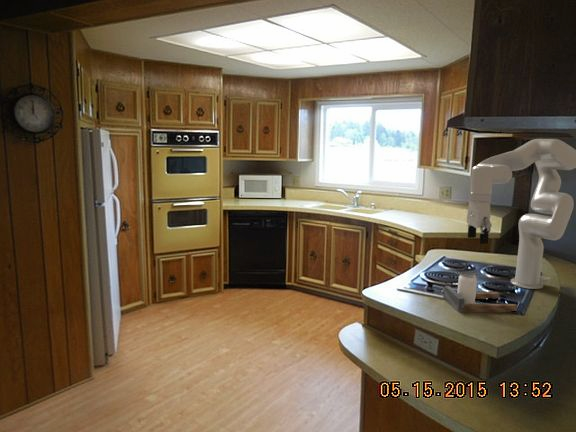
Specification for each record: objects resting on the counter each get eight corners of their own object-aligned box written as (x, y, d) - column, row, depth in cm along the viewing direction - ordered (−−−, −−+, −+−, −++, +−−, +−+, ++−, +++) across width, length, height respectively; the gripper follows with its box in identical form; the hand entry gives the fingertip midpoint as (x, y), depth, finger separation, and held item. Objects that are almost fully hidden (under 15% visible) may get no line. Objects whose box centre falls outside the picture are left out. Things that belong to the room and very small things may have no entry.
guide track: (497, 298, 173) (498, 286, 173) (516, 312, 160) (518, 299, 159) (443, 298, 173) (444, 286, 172) (457, 311, 159) (459, 298, 158)
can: (472, 309, 161) (475, 278, 159) (454, 305, 165) (457, 275, 163) (476, 304, 167) (479, 274, 165) (458, 300, 170) (461, 271, 168)
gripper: (461, 194, 176) (458, 235, 179) (481, 201, 159) (478, 246, 162) (479, 194, 176) (476, 235, 180) (501, 200, 159) (498, 245, 163)
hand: (477, 240), depth 171 cm, fingers open, 9 cm apart
